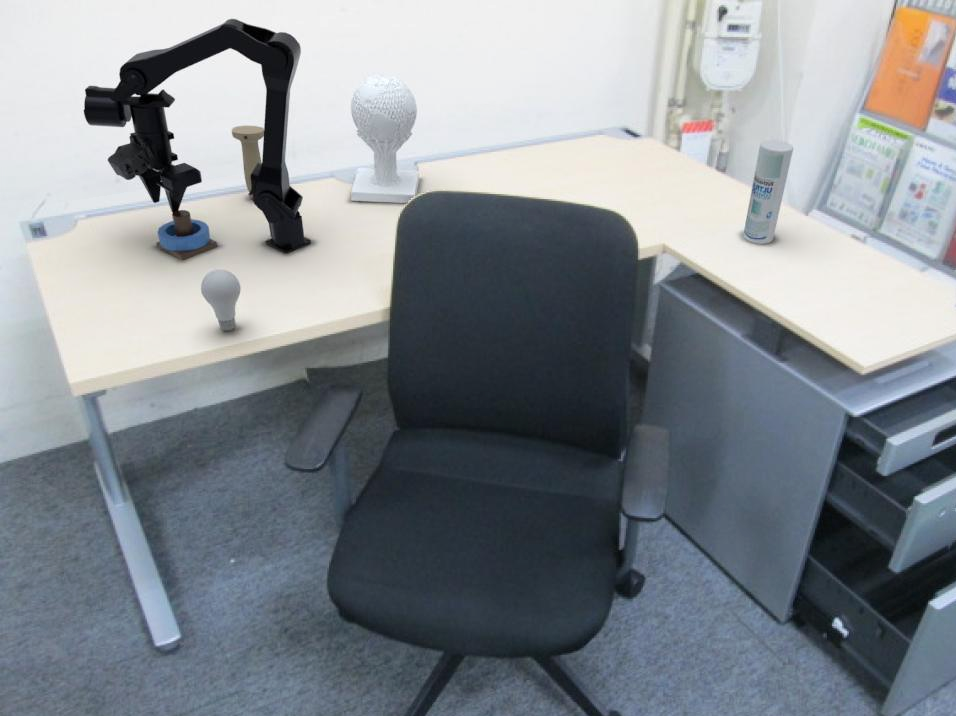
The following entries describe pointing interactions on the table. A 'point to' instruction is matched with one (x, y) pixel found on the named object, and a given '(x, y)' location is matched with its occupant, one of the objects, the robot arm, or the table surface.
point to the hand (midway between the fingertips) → (165, 207)
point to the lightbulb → (222, 296)
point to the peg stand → (185, 229)
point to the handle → (249, 149)
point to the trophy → (384, 139)
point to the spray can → (767, 190)
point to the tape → (187, 242)
